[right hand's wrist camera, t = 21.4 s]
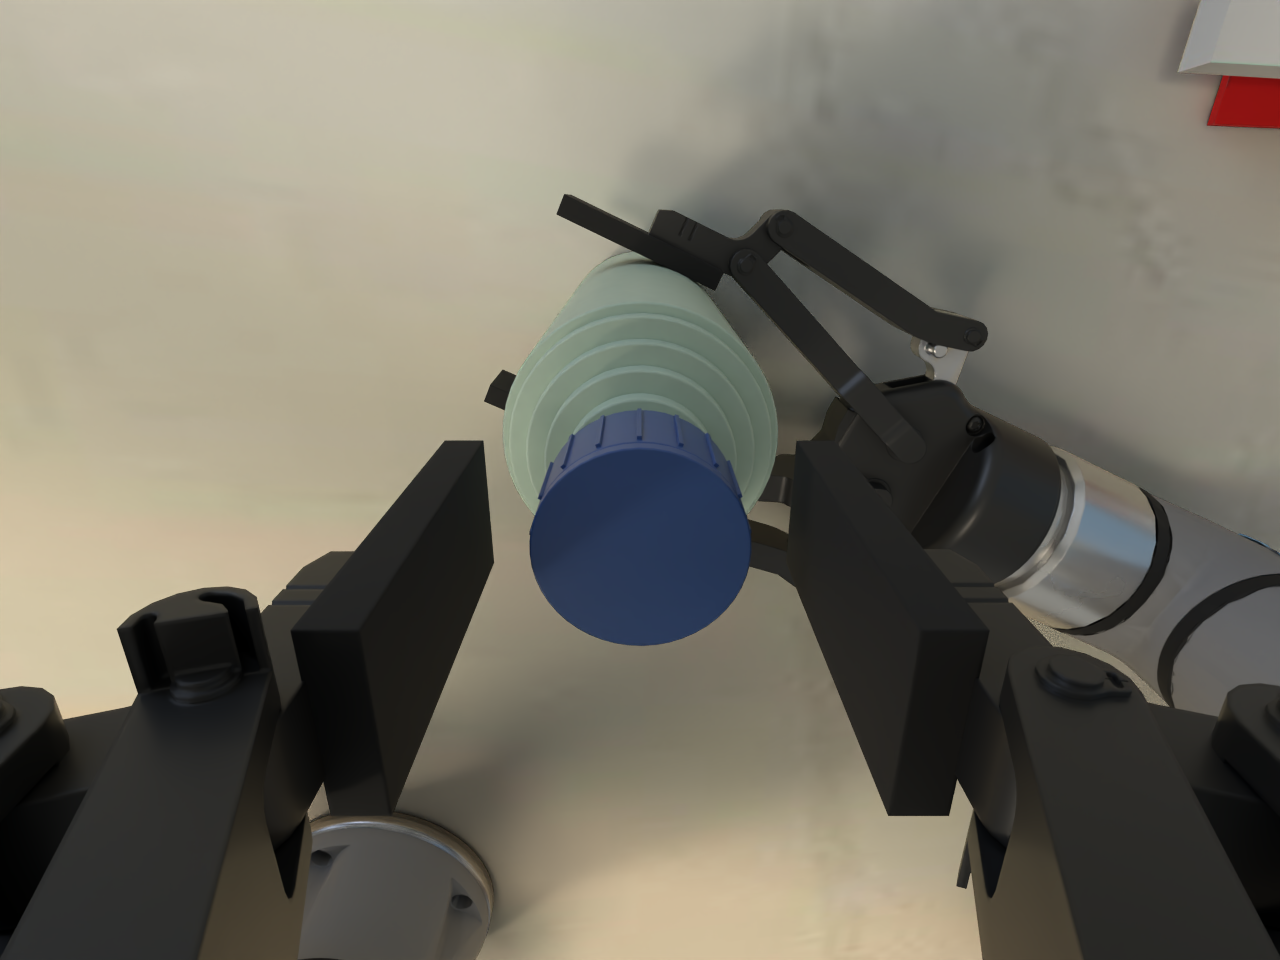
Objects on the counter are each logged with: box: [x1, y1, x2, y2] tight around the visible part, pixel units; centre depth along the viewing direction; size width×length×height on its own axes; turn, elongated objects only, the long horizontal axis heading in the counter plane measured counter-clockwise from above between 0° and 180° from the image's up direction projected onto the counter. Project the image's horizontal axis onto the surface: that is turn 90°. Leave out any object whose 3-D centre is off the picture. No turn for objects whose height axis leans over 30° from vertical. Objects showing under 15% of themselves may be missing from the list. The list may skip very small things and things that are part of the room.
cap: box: [530, 408, 752, 646], centre depth 13 cm, size 4×4×2 cm
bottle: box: [503, 252, 778, 516], centre depth 24 cm, size 7×7×23 cm
